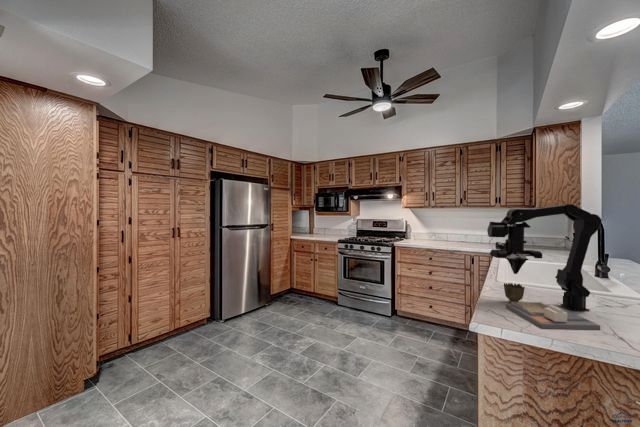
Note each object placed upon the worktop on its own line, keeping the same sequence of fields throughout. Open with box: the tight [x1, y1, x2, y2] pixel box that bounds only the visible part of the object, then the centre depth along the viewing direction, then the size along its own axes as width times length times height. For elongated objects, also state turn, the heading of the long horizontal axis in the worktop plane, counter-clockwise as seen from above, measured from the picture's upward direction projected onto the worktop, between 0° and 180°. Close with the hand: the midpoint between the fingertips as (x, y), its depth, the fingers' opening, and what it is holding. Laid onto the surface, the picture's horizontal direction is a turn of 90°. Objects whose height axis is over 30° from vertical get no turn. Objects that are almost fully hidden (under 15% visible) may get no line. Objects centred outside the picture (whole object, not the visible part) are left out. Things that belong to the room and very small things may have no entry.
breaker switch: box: [544, 304, 567, 322], centre depth 98 cm, size 4×5×4 cm
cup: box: [503, 282, 525, 304], centre depth 119 cm, size 8×7×8 cm
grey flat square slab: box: [505, 303, 601, 331], centre depth 104 cm, size 19×20×2 cm
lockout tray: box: [510, 301, 549, 316], centre depth 107 cm, size 12×12×1 cm
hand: (515, 273), depth 118 cm, fingers closed
